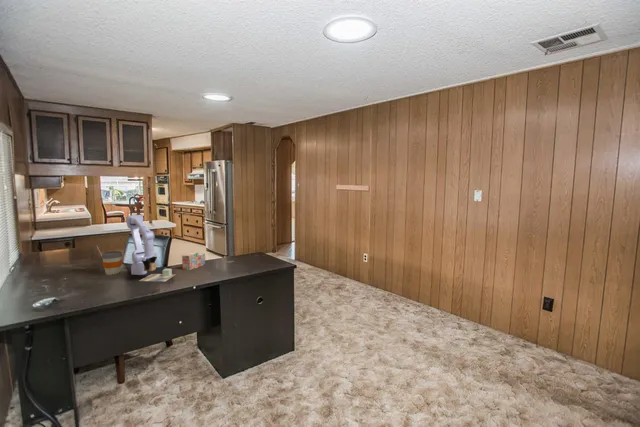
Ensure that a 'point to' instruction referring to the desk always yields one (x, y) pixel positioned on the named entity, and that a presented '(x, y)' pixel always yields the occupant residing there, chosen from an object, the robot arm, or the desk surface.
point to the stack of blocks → (193, 260)
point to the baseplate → (157, 277)
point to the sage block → (167, 272)
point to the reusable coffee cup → (112, 262)
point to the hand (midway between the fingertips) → (149, 268)
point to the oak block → (151, 267)
